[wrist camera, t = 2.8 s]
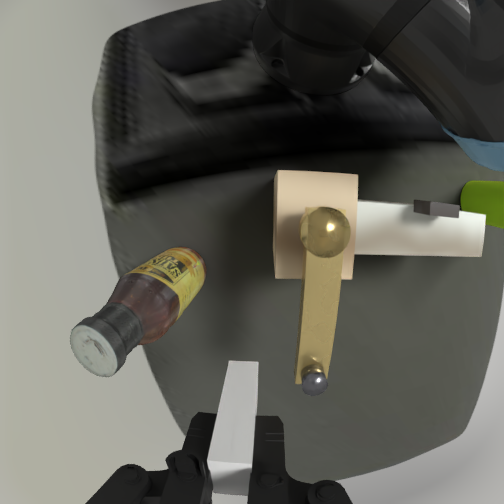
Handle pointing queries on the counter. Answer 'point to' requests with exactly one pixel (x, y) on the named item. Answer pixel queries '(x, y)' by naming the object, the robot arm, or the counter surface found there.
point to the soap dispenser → (485, 200)
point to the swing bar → (319, 293)
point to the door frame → (368, 222)
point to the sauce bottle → (138, 310)
